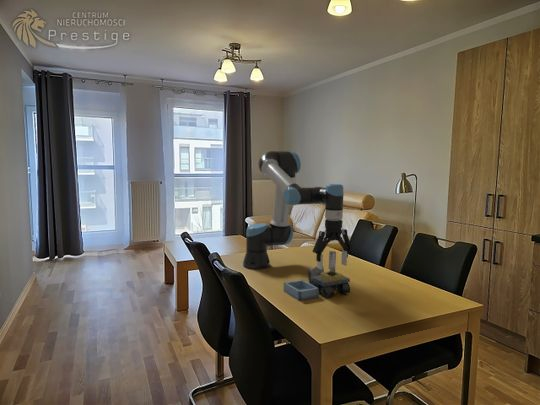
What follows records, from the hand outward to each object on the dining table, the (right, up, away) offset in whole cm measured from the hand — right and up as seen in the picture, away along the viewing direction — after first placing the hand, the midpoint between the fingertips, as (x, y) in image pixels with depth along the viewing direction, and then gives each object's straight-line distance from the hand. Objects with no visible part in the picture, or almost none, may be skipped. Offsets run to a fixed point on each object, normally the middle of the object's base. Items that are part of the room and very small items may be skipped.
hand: (332, 266), depth 161 cm
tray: (-14, -12, 0) cm, 19 cm away
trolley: (-1, -12, +2) cm, 12 cm away
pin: (0, -5, +1) cm, 5 cm away
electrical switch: (-6, -11, +12) cm, 17 cm away
